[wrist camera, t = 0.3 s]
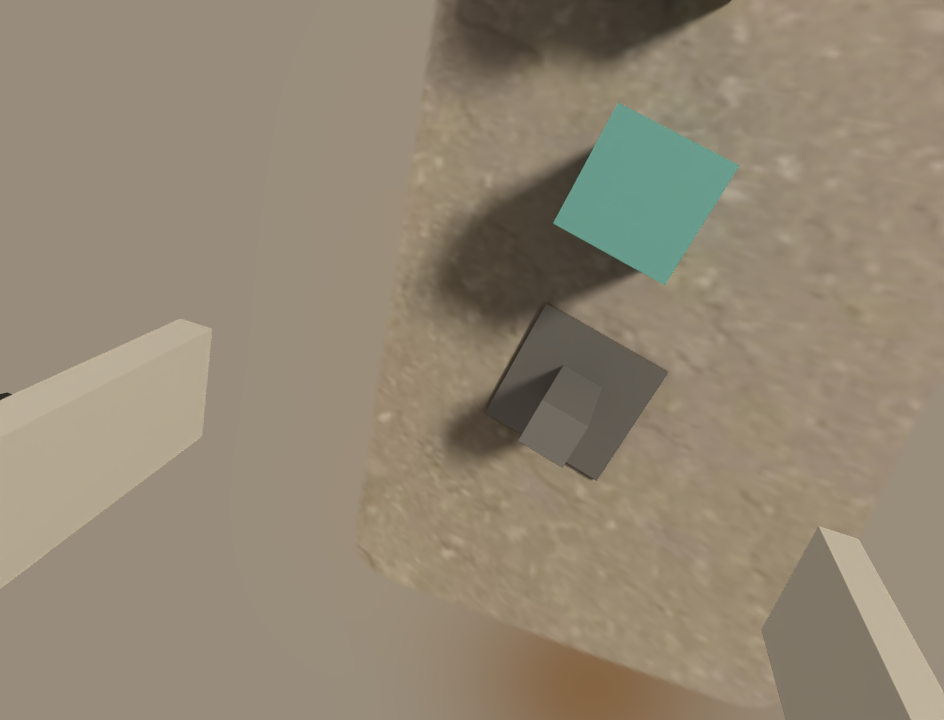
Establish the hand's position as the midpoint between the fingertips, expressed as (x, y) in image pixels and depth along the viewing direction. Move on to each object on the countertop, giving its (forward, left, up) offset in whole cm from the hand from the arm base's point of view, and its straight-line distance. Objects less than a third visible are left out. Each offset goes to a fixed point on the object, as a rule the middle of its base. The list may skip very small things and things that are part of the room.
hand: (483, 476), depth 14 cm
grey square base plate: (+6, +1, -26) cm, 27 cm away
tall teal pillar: (-6, -1, -26) cm, 27 cm away
